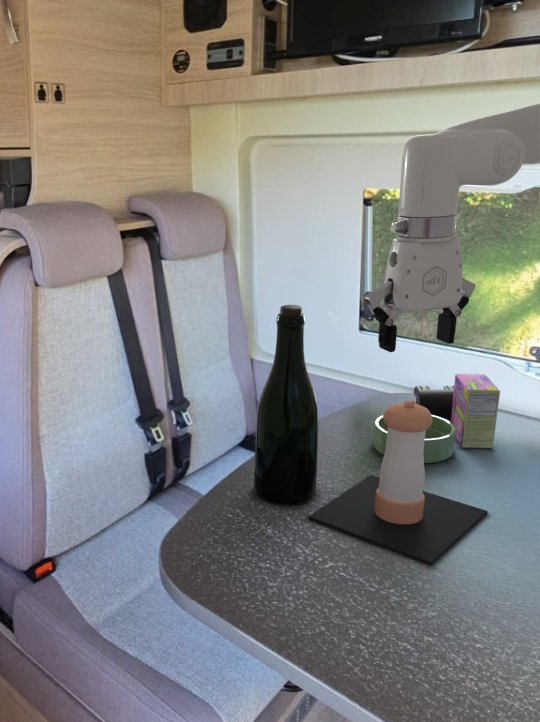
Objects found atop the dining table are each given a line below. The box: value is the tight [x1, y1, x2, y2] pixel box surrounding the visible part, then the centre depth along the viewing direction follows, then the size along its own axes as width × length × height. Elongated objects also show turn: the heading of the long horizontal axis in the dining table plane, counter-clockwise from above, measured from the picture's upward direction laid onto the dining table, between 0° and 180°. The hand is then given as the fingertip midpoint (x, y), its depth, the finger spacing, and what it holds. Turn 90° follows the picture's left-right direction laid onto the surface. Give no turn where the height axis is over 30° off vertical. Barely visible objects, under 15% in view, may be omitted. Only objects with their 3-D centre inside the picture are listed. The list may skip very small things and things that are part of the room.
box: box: [450, 373, 501, 449], centre depth 140 cm, size 10×6×12 cm, turn 168°
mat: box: [308, 474, 488, 566], centre depth 115 cm, size 20×20×1 cm
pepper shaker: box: [374, 399, 433, 524], centre depth 112 cm, size 7×7×19 cm
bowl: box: [372, 414, 456, 464], centre depth 138 cm, size 14×14×5 cm
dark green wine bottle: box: [253, 304, 319, 506], centre depth 119 cm, size 10×10×33 cm
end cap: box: [412, 385, 454, 421], centre depth 151 cm, size 10×7×7 cm
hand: (416, 345), depth 107 cm, fingers open, 9 cm apart
